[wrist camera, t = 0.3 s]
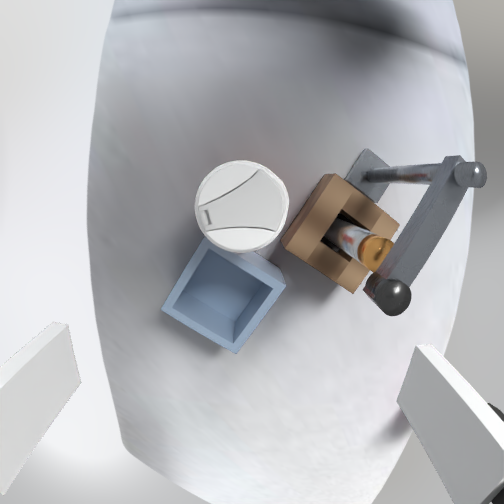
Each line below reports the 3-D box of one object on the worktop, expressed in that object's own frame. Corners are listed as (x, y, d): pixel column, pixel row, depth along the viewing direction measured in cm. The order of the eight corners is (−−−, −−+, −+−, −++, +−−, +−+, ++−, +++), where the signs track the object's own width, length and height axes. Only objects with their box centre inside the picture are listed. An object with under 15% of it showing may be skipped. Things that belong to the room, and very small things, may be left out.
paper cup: (222, 237, 39) (207, 267, 25) (205, 178, 37) (180, 174, 23) (282, 221, 38) (302, 241, 24) (266, 161, 37) (277, 147, 23)
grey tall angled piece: (370, 163, 35) (473, 152, 16) (384, 175, 35) (492, 174, 16) (315, 247, 37) (379, 311, 18) (330, 257, 38) (402, 327, 18)
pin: (331, 213, 38) (378, 231, 23) (349, 226, 38) (403, 251, 24) (318, 232, 39) (358, 261, 24) (336, 245, 39) (383, 280, 24)
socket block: (324, 174, 37) (335, 173, 32) (383, 219, 38) (400, 224, 33) (280, 240, 39) (284, 248, 34) (341, 281, 40) (353, 293, 35)
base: (364, 149, 36) (367, 148, 35) (392, 172, 37) (396, 172, 36) (344, 179, 37) (347, 179, 36) (373, 202, 38) (377, 203, 37)
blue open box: (213, 225, 38) (205, 234, 31) (280, 268, 39) (286, 285, 33) (174, 289, 40) (160, 309, 33) (237, 327, 41) (236, 354, 34)
